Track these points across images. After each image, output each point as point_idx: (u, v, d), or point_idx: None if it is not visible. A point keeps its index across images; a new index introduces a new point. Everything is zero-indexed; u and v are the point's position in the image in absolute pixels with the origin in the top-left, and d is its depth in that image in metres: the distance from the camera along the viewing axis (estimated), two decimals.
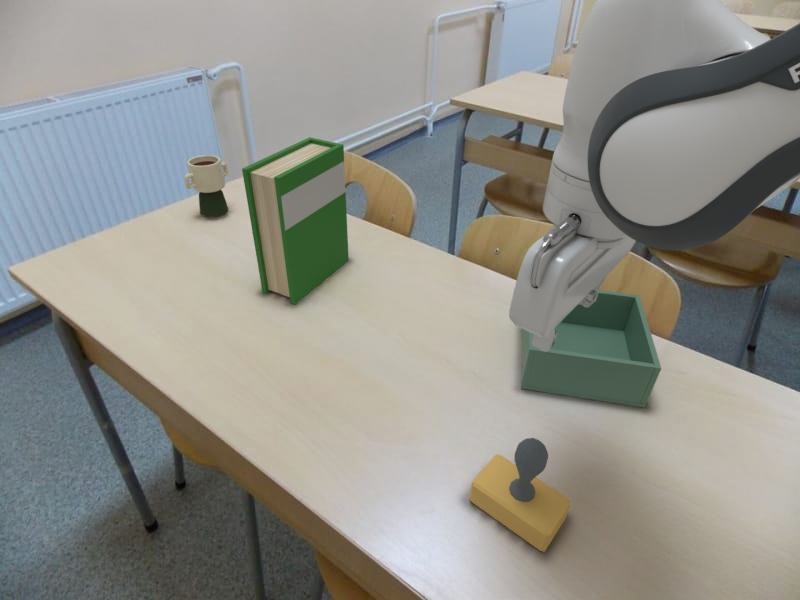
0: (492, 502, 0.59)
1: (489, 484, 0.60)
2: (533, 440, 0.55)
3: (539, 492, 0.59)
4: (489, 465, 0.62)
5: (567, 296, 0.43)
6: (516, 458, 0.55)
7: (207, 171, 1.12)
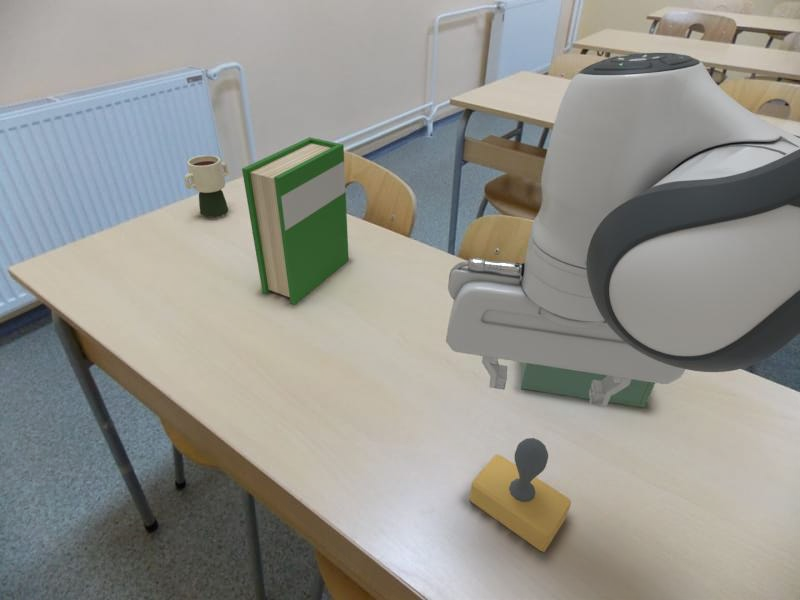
0: (492, 502, 0.59)
1: (489, 484, 0.60)
2: (533, 440, 0.55)
3: (539, 492, 0.59)
4: (489, 465, 0.62)
5: (485, 332, 0.45)
6: (516, 458, 0.55)
7: (207, 171, 1.12)
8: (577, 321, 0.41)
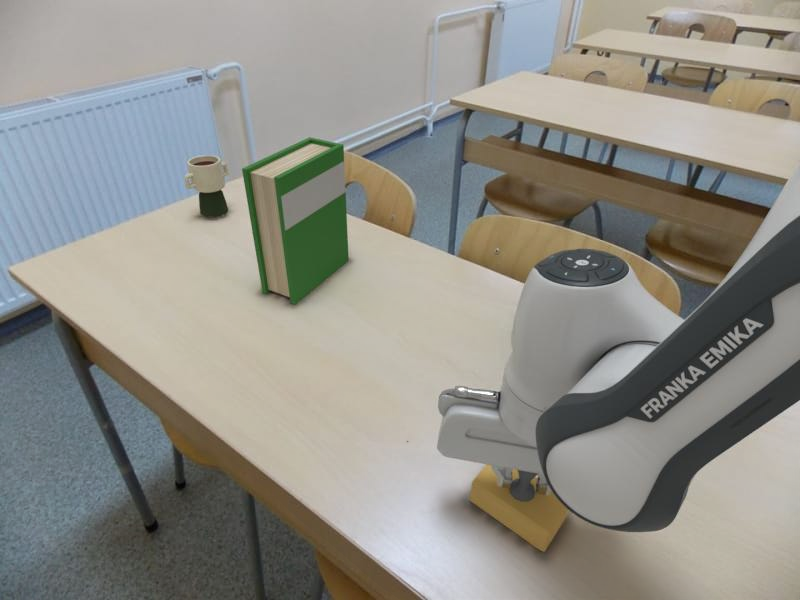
0: (492, 502, 0.59)
1: (489, 483, 0.60)
2: None
3: None
4: (489, 465, 0.62)
5: (469, 444, 0.54)
6: None
7: (207, 171, 1.12)
8: None
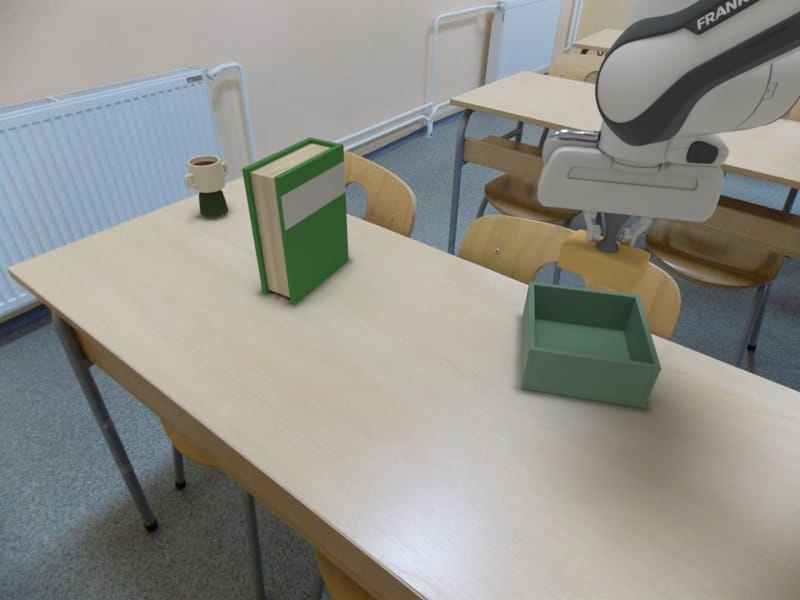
0: (581, 256, 0.67)
1: (577, 244, 0.68)
2: None
3: (622, 248, 0.67)
4: (574, 234, 0.70)
5: (569, 186, 0.62)
6: None
7: (207, 171, 1.12)
8: (640, 167, 0.58)
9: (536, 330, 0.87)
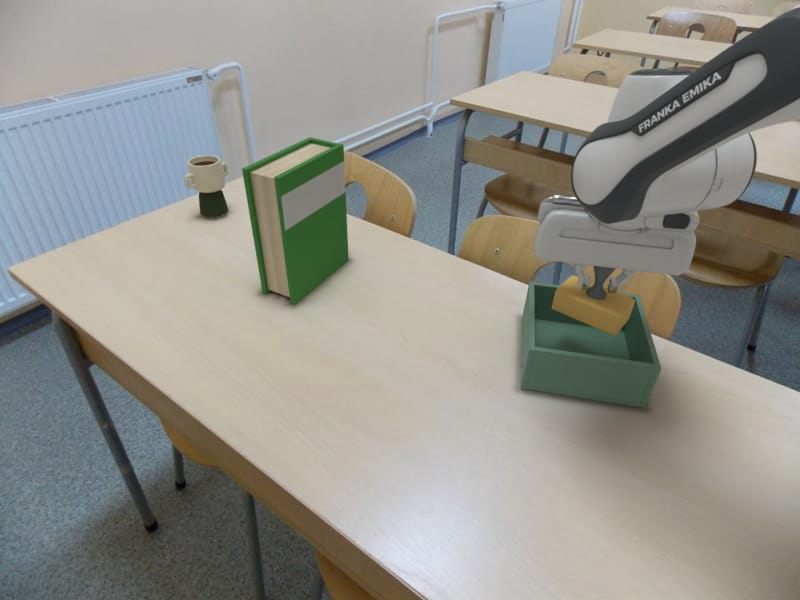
0: (573, 302, 0.75)
1: (570, 290, 0.76)
2: None
3: (609, 295, 0.75)
4: (567, 281, 0.78)
5: (561, 243, 0.70)
6: None
7: (207, 171, 1.12)
8: (623, 231, 0.66)
9: (536, 330, 0.87)
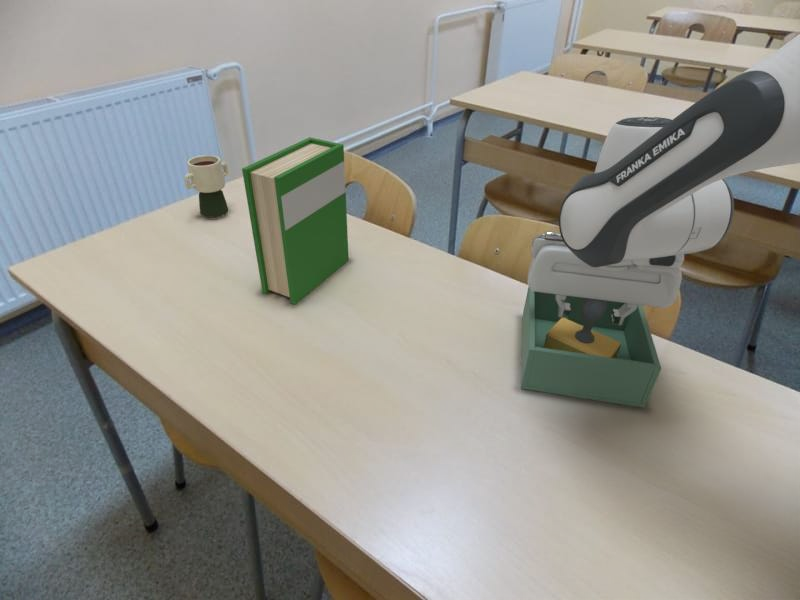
0: (563, 345, 0.80)
1: (560, 333, 0.81)
2: None
3: (597, 338, 0.80)
4: (558, 323, 0.83)
5: (554, 277, 0.73)
6: (583, 306, 0.76)
7: (207, 171, 1.12)
8: (612, 267, 0.69)
9: (536, 330, 0.87)
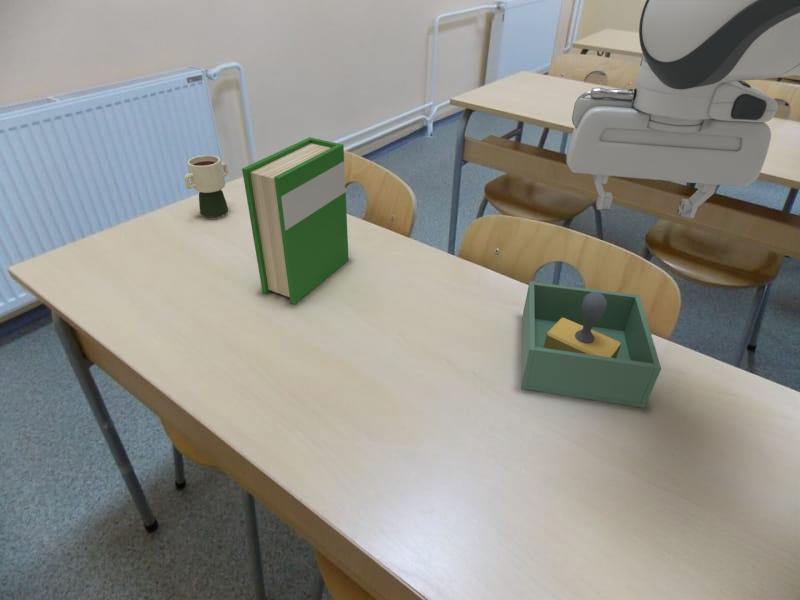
0: (563, 345, 0.80)
1: (560, 333, 0.81)
2: (596, 292, 0.76)
3: (597, 338, 0.80)
4: (558, 323, 0.83)
5: (602, 150, 0.58)
6: (583, 306, 0.76)
7: (207, 171, 1.12)
8: (680, 126, 0.54)
9: (536, 330, 0.87)
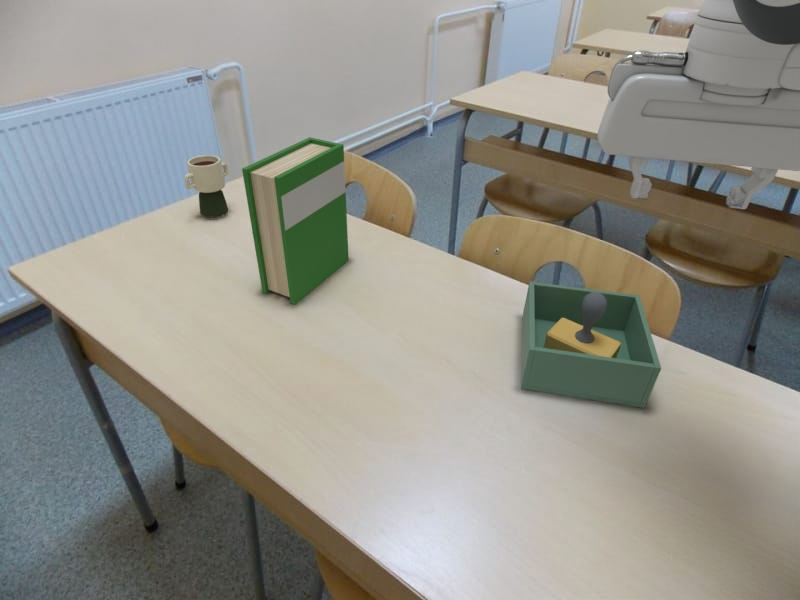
0: (563, 345, 0.80)
1: (560, 333, 0.81)
2: (596, 292, 0.76)
3: (597, 338, 0.80)
4: (558, 323, 0.83)
5: (643, 126, 0.49)
6: (583, 306, 0.76)
7: (207, 171, 1.12)
8: (742, 97, 0.44)
9: (536, 330, 0.87)
